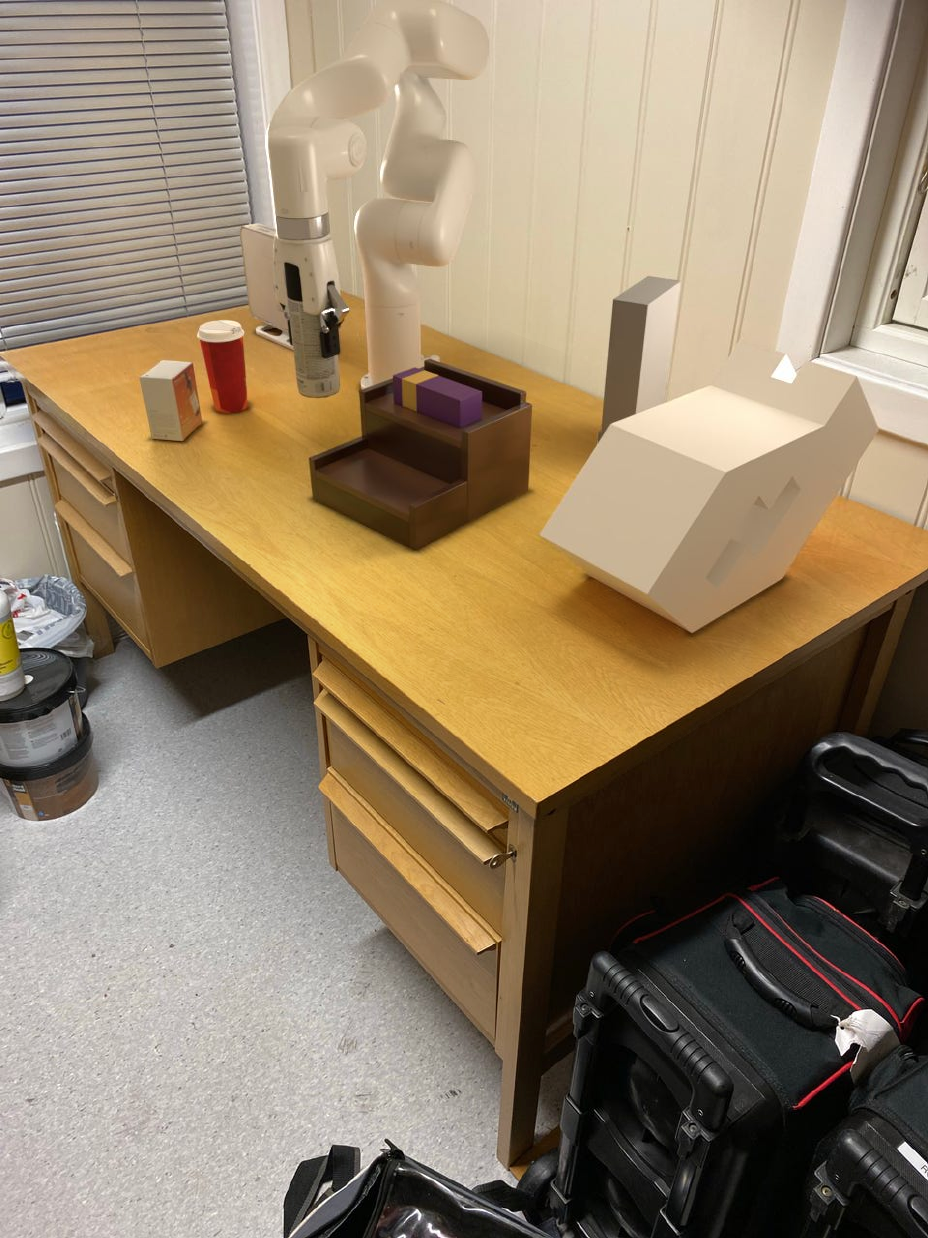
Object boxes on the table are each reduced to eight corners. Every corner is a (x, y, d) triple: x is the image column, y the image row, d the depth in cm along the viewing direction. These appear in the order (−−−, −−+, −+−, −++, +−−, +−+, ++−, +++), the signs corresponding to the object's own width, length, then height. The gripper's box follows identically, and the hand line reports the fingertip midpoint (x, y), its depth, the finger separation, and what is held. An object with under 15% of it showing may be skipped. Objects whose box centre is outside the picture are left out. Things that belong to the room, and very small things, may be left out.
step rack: (425, 448, 152) (423, 356, 143) (528, 491, 140) (533, 393, 132) (312, 498, 138) (302, 400, 130) (415, 550, 126) (412, 446, 118)
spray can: (348, 385, 151) (337, 254, 139) (329, 402, 146) (316, 267, 134) (309, 380, 152) (296, 250, 141) (290, 396, 147) (274, 263, 135)
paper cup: (262, 402, 167) (252, 322, 159) (236, 418, 161) (224, 336, 153) (225, 395, 170) (214, 316, 162) (198, 410, 164) (185, 329, 156)
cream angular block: (647, 594, 101) (830, 311, 100) (539, 534, 111) (704, 277, 110) (726, 663, 121) (879, 429, 120) (629, 608, 131) (769, 392, 130)
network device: (241, 327, 200) (228, 226, 188) (277, 318, 205) (266, 219, 193) (313, 359, 185) (303, 251, 173) (349, 348, 189) (342, 243, 178)
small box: (183, 442, 154) (171, 379, 148) (150, 439, 154) (138, 376, 148) (203, 422, 160) (193, 361, 154) (172, 419, 161) (161, 358, 155)
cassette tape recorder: (626, 429, 158) (643, 274, 144) (661, 437, 156) (682, 280, 141) (592, 461, 148) (606, 298, 134) (629, 470, 146) (648, 305, 131)
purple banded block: (415, 393, 139) (415, 366, 137) (482, 419, 132) (482, 390, 130) (393, 402, 136) (392, 374, 134) (459, 428, 129) (460, 400, 127)
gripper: (243, 220, 137) (260, 342, 148) (322, 242, 127) (334, 371, 138) (285, 210, 141) (298, 329, 152) (364, 231, 132) (372, 357, 142)
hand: (315, 348), depth 145 cm, fingers closed on spray can, 6 cm apart
